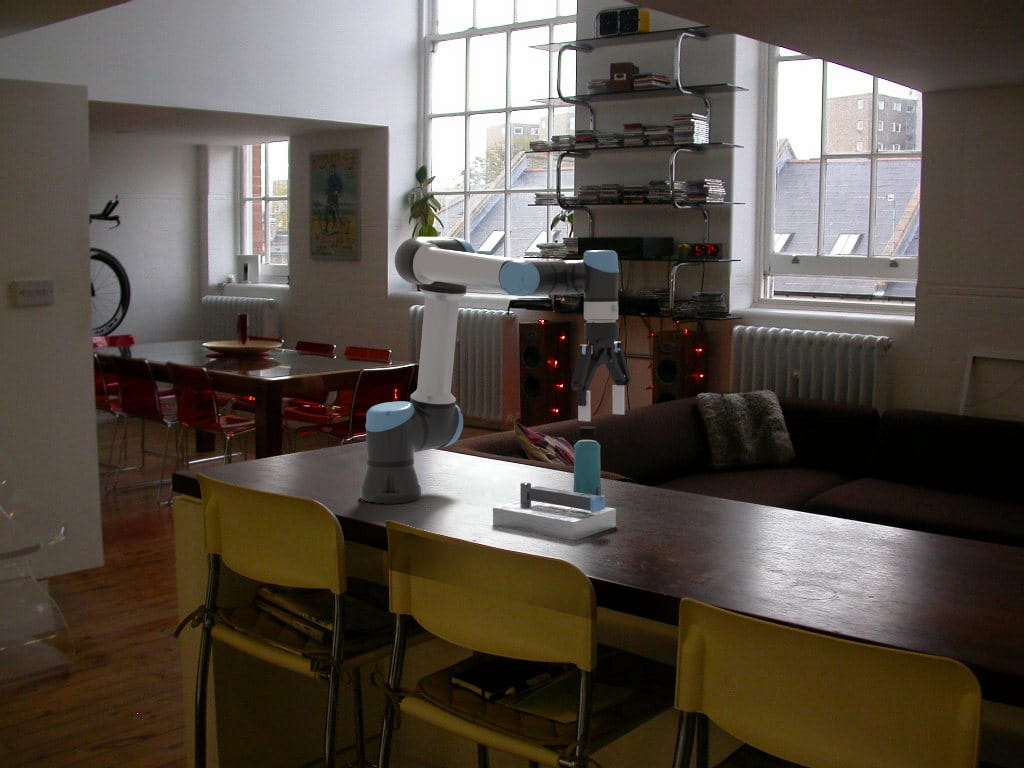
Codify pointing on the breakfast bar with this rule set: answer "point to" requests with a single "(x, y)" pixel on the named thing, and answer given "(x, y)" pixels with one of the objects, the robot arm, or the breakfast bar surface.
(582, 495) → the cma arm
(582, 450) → the beverage bottle
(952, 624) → the breakfast bar surface
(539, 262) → the robot arm
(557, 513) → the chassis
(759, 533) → the breakfast bar surface
